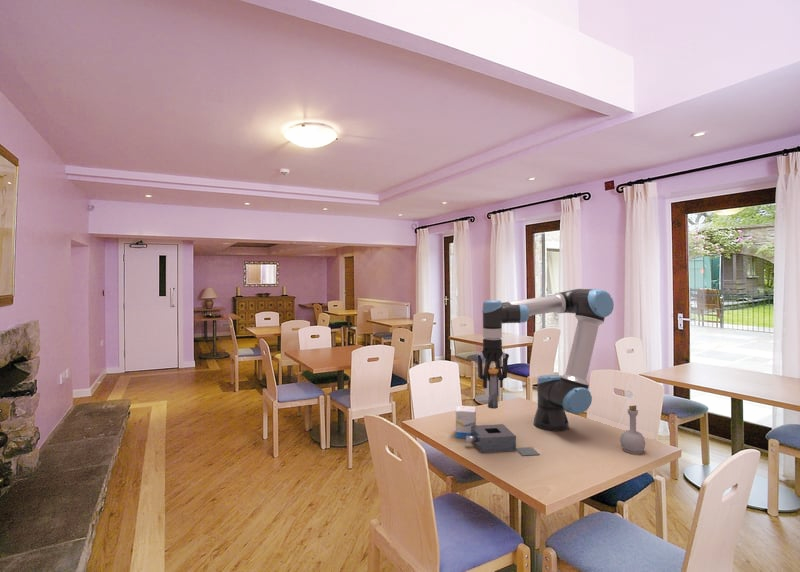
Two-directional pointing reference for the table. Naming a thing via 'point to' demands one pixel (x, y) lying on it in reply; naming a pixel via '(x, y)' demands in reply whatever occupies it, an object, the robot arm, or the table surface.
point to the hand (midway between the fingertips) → (492, 395)
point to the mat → (527, 451)
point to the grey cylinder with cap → (493, 387)
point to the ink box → (465, 420)
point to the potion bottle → (632, 435)
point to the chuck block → (492, 438)
